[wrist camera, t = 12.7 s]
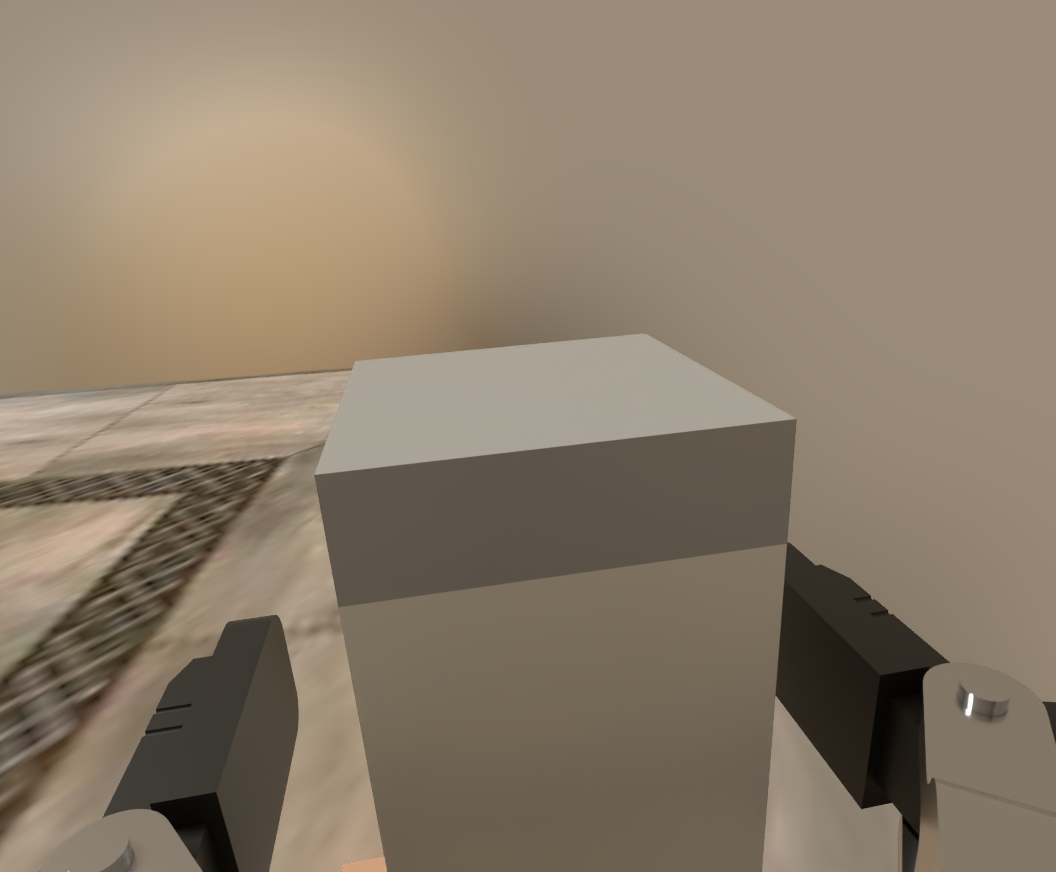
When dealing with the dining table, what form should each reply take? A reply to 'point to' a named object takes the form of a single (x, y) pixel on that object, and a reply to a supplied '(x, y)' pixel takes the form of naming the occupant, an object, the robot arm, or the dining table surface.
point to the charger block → (561, 604)
